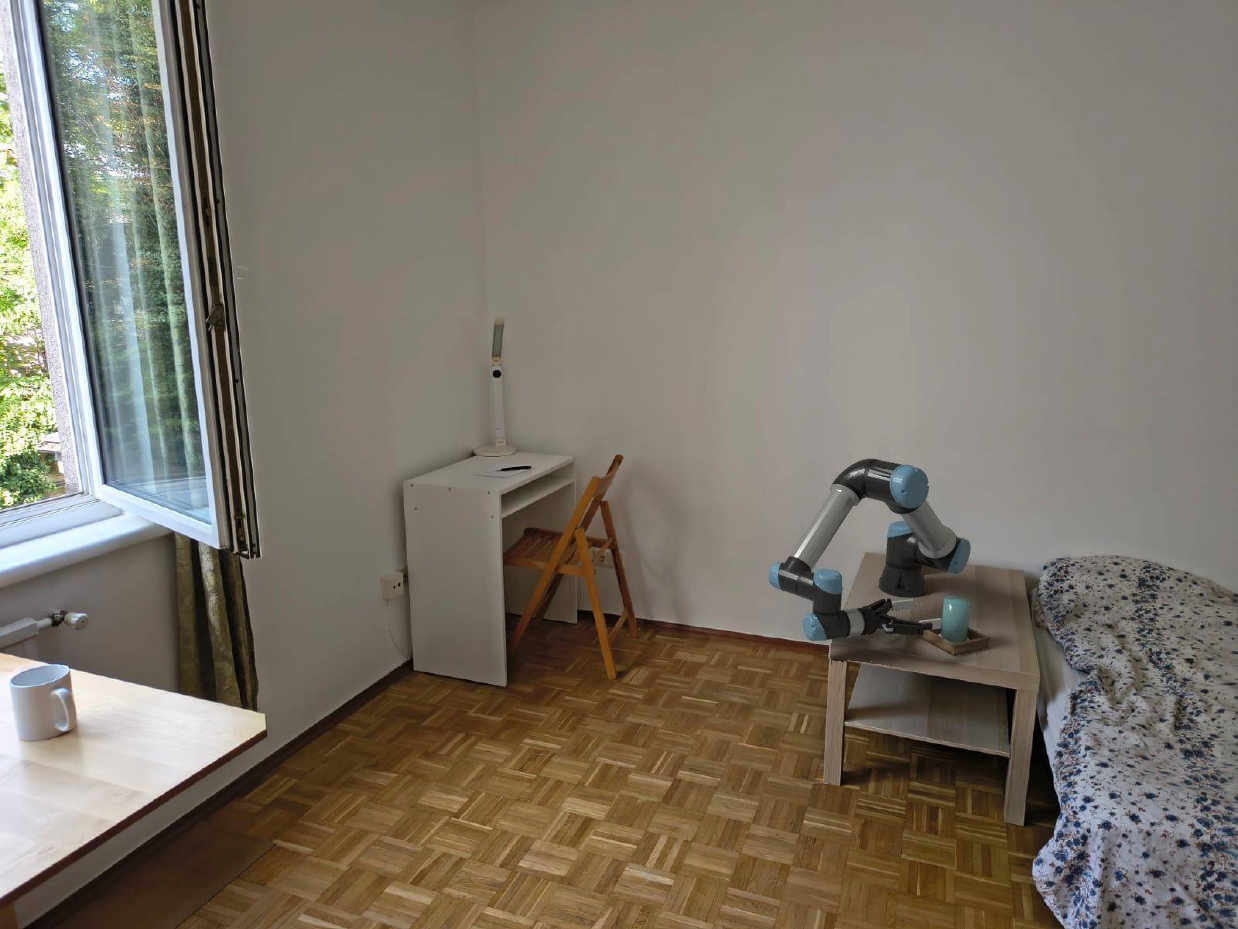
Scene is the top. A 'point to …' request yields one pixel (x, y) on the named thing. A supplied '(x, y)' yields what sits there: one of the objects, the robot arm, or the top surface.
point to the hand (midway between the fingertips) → (926, 613)
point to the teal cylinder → (955, 619)
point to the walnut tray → (973, 644)
